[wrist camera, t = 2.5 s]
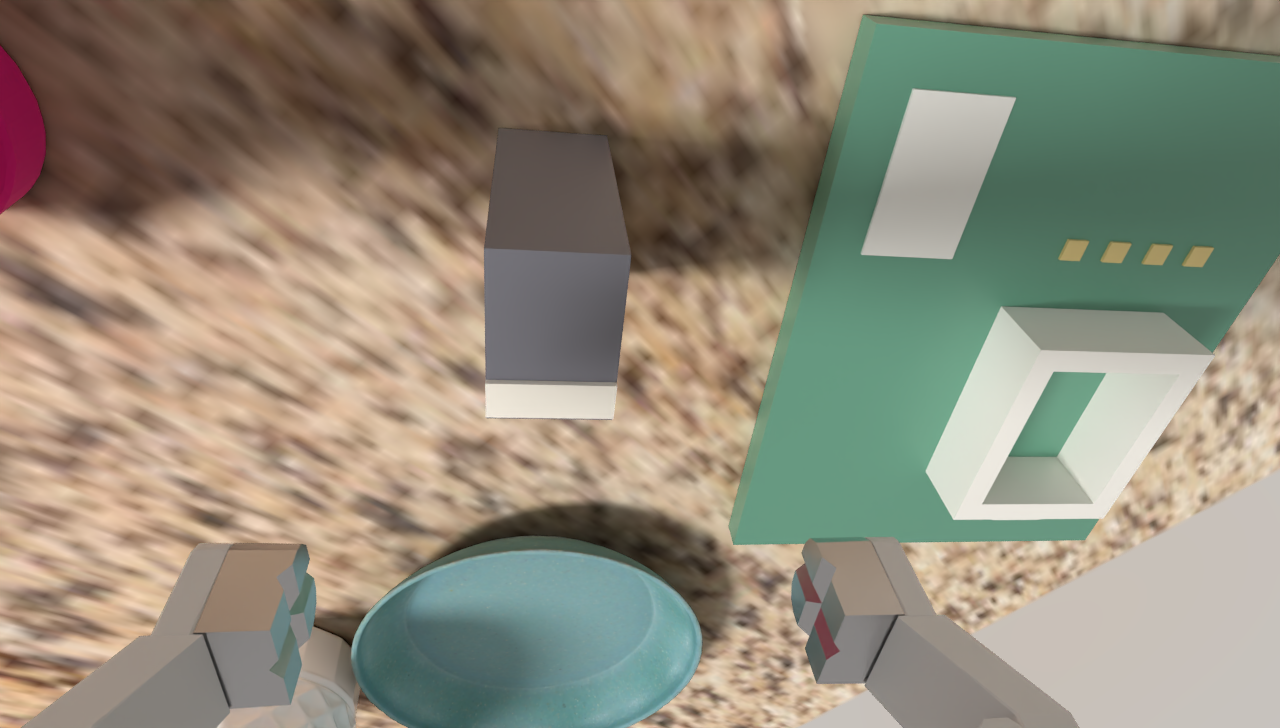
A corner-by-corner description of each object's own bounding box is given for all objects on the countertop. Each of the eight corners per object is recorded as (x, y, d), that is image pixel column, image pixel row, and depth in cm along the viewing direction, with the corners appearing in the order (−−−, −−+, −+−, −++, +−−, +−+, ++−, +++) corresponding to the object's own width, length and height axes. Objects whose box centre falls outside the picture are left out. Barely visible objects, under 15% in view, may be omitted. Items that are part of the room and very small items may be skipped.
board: (863, 14, 20) (915, 49, 17) (1371, 64, 22) (1489, 102, 20) (728, 525, 32) (746, 595, 29) (1072, 522, 34) (1119, 587, 31)
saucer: (349, 493, 29) (333, 549, 27) (723, 502, 31) (736, 553, 29) (372, 703, 37) (362, 758, 35) (664, 697, 40) (672, 747, 38)
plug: (498, 127, 21) (483, 252, 15) (606, 135, 21) (632, 258, 16) (498, 270, 23) (485, 421, 18) (595, 275, 24) (612, 423, 18)
